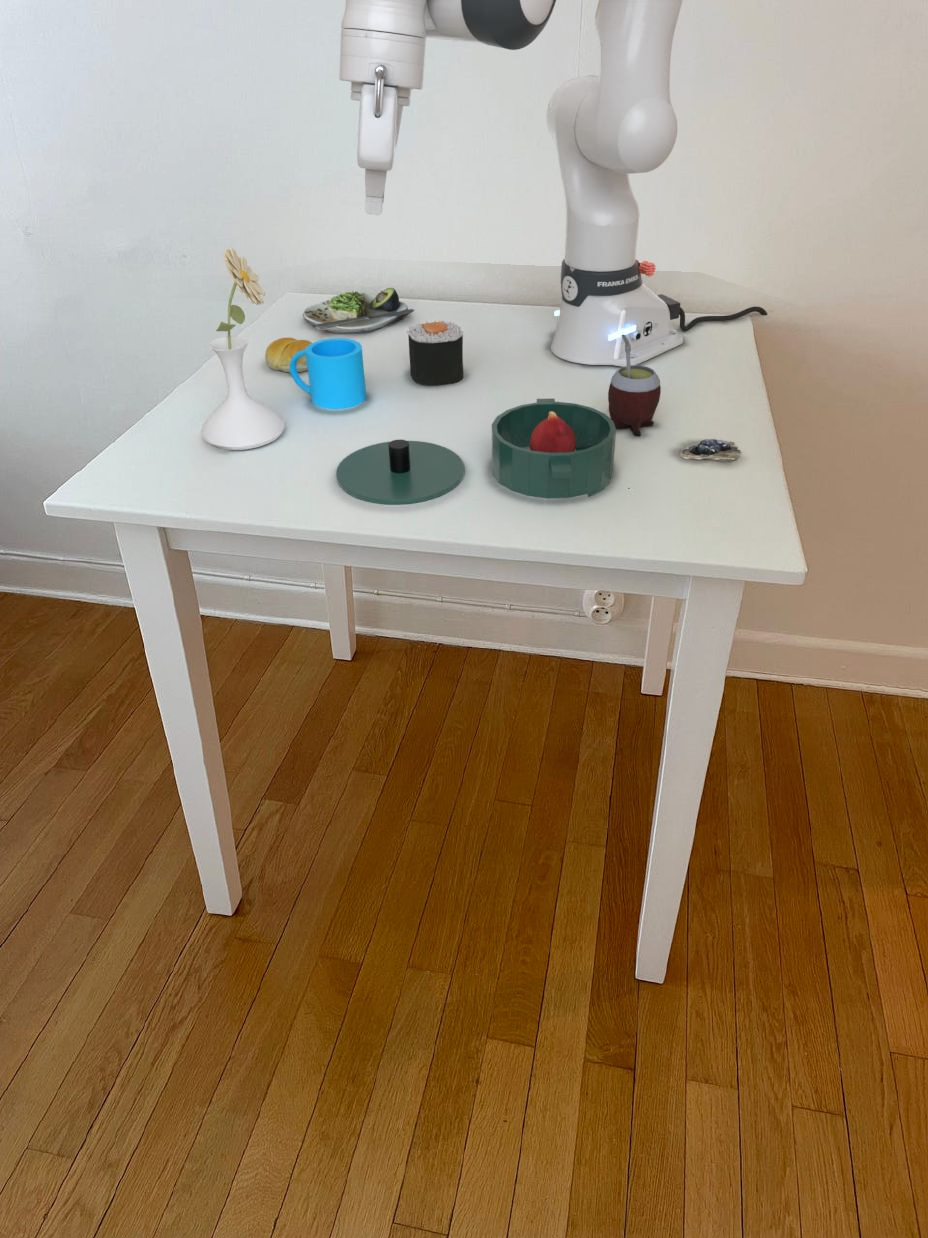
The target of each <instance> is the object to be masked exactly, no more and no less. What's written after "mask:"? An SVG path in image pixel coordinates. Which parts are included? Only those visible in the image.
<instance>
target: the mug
mask: <svg viewBox="0 0 928 1238" xmlns="http://www.w3.org/2000/svg"><path fill="white" fill-rule="evenodd" d="M311 343H312V344H310V345H309V346H307V347H306V349H305V350H301V351H299V352H298V353H296V354H295V355H294V356H293V357H292V360H291V362H290V372H289V374H290V376H291V378H292V379H293V381H294V383H295V384H296V386H298V387H300V389H301V390H302V391H305V392H306V393H308V394H309V395H310V398H311V403H312V405H314V406H316V407H318V408H321V409H324V410H325V409H326V410H344V409H350V408H353V407H356V406H359V405H361V404H362V403H364V402H367V392H366V391H367V389H366V379H365V378H366V377H365V369H364V368H365V367H364V357H363V356H364V355H363V345H362V344H361V343H360V342H359V341H356V340H355V339H350V338H343V337H333V338H332V337H331V338H325V339H320V340H317V341H314V342H311ZM304 355H306V360H307V368H308V370H307V375H308V384H309V385H308V384H307V383H306V382H305V381H303V379H302V377H301V376H300V375H299V372H297V369H296V368H297V362H298V360H299V358H301V357H302V356H304Z"/></svg>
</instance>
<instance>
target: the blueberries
mask: <svg viewBox="0 0 928 1238" xmlns="http://www.w3.org/2000/svg"><path fill="white" fill-rule="evenodd" d="M735 445H736V442H734V441H727V440H723V439H717V438H716V439H715V438H710V439H709V438H705V439H702V440H699V441H696V442H692V443H691V444H690V443H689V444H688V445H687V446H685V447H683V448H682V449H679V450H678V456H680V457H681V458H682V459H685V460H690V459H693V460H704V459H705V460H706V459H709V460H713V461H714V460H715V461H716V460H719V461H721V462H724V463H725V462H728V463H729V462H733V461H734V460H736V459H737V458H738V457H739V455H740V454H742V451H741V449H739V447H738V446H735Z"/></svg>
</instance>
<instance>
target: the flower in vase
mask: <svg viewBox="0 0 928 1238" xmlns="http://www.w3.org/2000/svg"><path fill="white" fill-rule="evenodd" d="M223 258H224V263H225V266H226V269H227V271H228V273H229V274H230V276H231V279H232V280H233V282H234V283H233V285H232V288H231V292H230V295H229V298H228V306H227V323H226V322H223V321H220V323H219V326H218V328H217V329H216V330H215V332H227V336H223V337H219V338H215V339H214V340H212V341H210V343H209V344H208V345H209V348H210V349H211V350H212V351H213V352H214V353H215V354H216V356H217V358H218V359H219V361H220V363H221V365H222V369H223V371H224V375H225V379H226V385H227V395H226V398H225V399H224V400H223V402H222V403H221V404H220V405H219V406H218V407H217V408H216V409H215V410H214V411H213V412H212V413H210V415H208V417H207V418H206V419H205V420H204V422H203V424H202V428H201V433H200V434H201V437H202V439H203V440H204V441H205V442H206V443H207V444H209V445H211V446H212V447H215V448H217V449H220V450H221V449H222V450H229V451H230V450H231V451H242V450H244V451H245V450H252V449H255V448H259V447H262V446H266V445H268V444H270V443H272V442H274V441H275V440H277V439H279V437H280V436H281V435H282V434H283V432H284V430H285V428H286V423H285V421H284V419H283V418H282V416H281V414H280V413H278V412H277V411H276V410H275V409H273V408H272V407H270V406H268V405H267V404H265V403H262V402H260V401H259V400H257V399H255V398H253V397H252V396H251V395H250V394H249V393H248V391H247V389H246V384H245V381H244V374H243V373H244V372H243V371H244V370H243V357H244V353H245V350H246V348H247V346H248V344H249V340H248V339H247V338H245V337H242V336H236V335H233V336H232V335H231V330H232V329H234V328H235V327H236V326H237V324H239V325H242V324H243V323H244V322H245V321H246V320H245V319H246V315H245V312H244V310H243V308H242V307H240V306H239V305H236V304H232V302H233V298H234V295H235V291H236V289H238V290H239V292H241V293H242V295H243V296H244V297H245V298H246V299H247V300H248V301H249V302H250V303H251V304H255V305H257V306H259V305H260V306H261V305H262V304H265V301H264V299H263V298H262V297H261V296H263V297H264V296H265V294H266V293H265V291H264V290H263V289H262V286H261V284H259V283H258V282H259V279H260V278H259V275H258V274H257V273H255V272H253V270H252V268H251V267H250V266H249V265H248V260H247V259H246V257H244V256H241V257H239V256H238V254H237V251H236V249H234V248H233V246H230V247H229V249H228V248H227V247H225V248H224V252H223ZM260 295H261V296H260ZM231 319H232V320H233V321H234V322H235V323H237V324H231Z"/></svg>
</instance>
